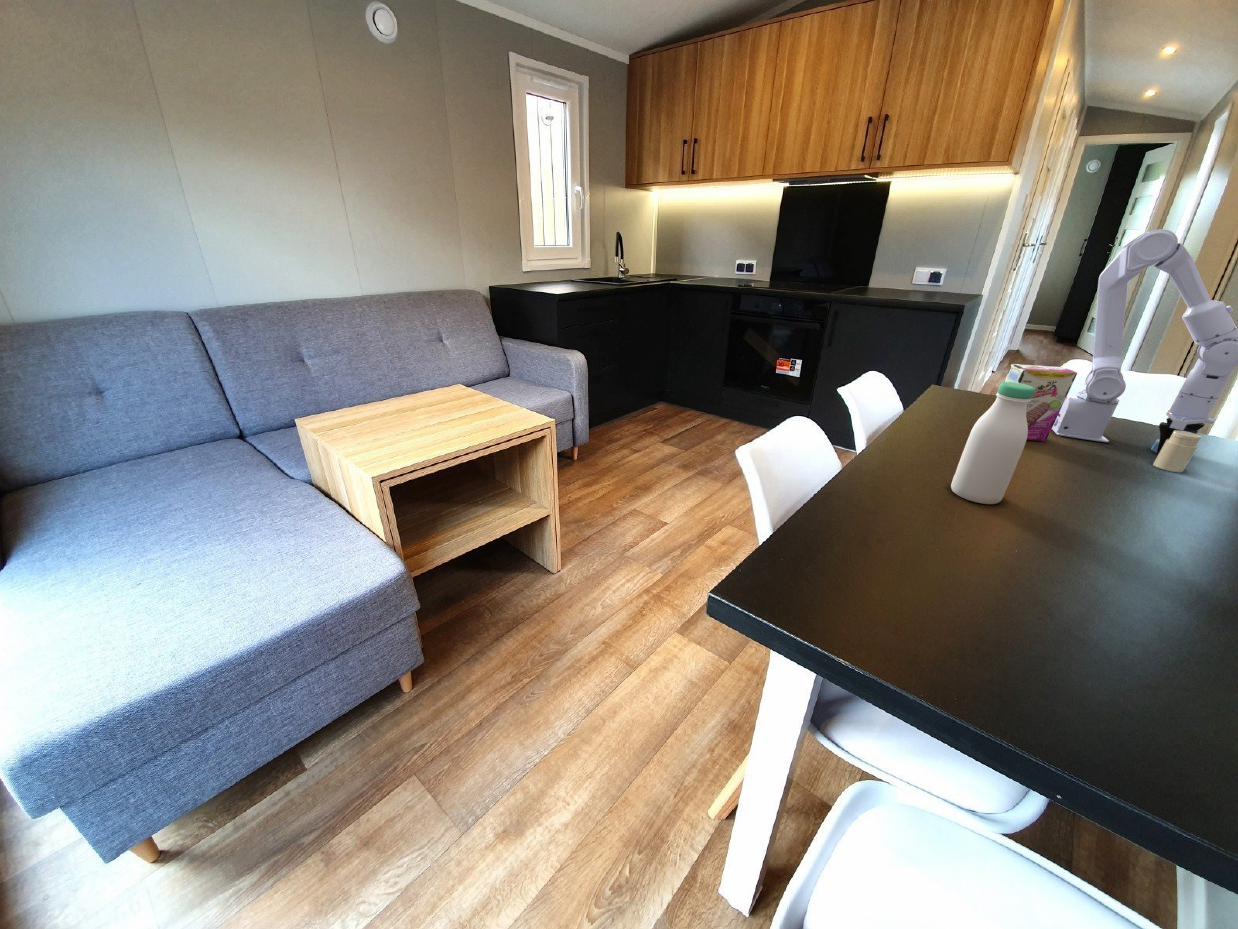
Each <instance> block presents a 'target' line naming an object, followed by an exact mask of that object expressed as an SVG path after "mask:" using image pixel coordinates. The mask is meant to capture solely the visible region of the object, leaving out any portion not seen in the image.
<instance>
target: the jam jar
mask: <svg viewBox="0 0 1238 929" xmlns="http://www.w3.org/2000/svg"><path fill="white" fill-rule="evenodd" d="M1200 440H1202V436H1201V435H1199V434H1198V433H1196V434H1194V433H1191V432H1186V431H1179V430H1175V431H1173V433H1172V435H1171V437H1170V438H1169V439H1167V440H1166V441H1165V443H1164V445H1163V447H1162V449H1161V450H1160V452H1159V454H1157V456H1156V458H1155V460H1154V461H1153V463H1152V465H1153V467H1156V468H1157V469H1160V470H1164V471H1167V472H1173V473H1183V472H1185V469H1186V468H1187V465H1188V464H1189V463H1190V461H1191V459H1192V457H1193V456H1194V454H1195V452H1196V451H1197V449H1198V443H1199V441H1200Z"/></svg>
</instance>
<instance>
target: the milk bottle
mask: <svg viewBox="0 0 1238 929" xmlns="http://www.w3.org/2000/svg"><path fill="white" fill-rule="evenodd" d="M1034 392H1035V388H1034V387H1032V386H1029V385H1026V384H1021V383H1015V382H1005V381H1003V382H1001V383H1000V384H999V386H998V388H997V393H995V396H996V399H995V401H994V402H993V403H992V405H991V406H990V407H989V408H988V409H987V410H986V411H985V412H984V413H983V414H982V415H981V416H980V417H979V418H978V419H977V421H976V422H975V423H974V425H973V427H972V429H971V430H970V433H969V435H968V438H967V440H966V443H965V445H964V448H963V450H962V453H961V456H960V459H959V461H958V464H957V467H956V469H955V471H954V475H953V477H952V481H951V484H950V488H951V491H952V492H953V493H954V494H955V495H957V496H958V497H960V498H962V499H965V500H967V501H971V502H974V503H979V504H983V505H984V504H985V505H995V504H998V503H1000V502H1002V501H1003V499H1004V496H1005V494H1006V492H1007V489H1008V488H1009V485H1010V482H1011V480H1012V477H1013V475H1014V473H1015V470H1016V468H1017V466H1018V463H1019V461H1020V458H1021V456H1022V454H1023V451H1024V448H1025V446H1026V443H1027V441H1028V440H1027V435H1028V426H1027V419H1026V408H1027V404H1028V402H1030V401H1031V398H1032V397H1033V394H1034Z"/></svg>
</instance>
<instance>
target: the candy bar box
mask: <svg viewBox="0 0 1238 929" xmlns="http://www.w3.org/2000/svg"><path fill="white" fill-rule="evenodd" d="M1077 375H1078V372H1077V371H1075V370H1072V369H1069V368H1066V367H1063V366H1052V365H1051V366H1049V365H1033V364H1021V363H1020V364H1018V363H1011V364H1010V366H1009V368H1008V372H1007V374H1006V376H1005V379H1004V382H1015V383H1021V384H1026V385H1029V386H1032V387H1034V388H1035V392H1034V394H1033V397H1032V398H1031V401H1030V402H1028V404H1027V408H1026V419H1027V426H1028V435H1027V440H1026V441H1031V442H1044V443H1045V442H1046V441H1047V440H1048V437H1049V435H1050V433H1051V431H1052V427H1053V425H1054V423H1055V420H1056V418H1057V416H1058V414H1059V412H1060V410H1061V407H1062V405H1063V403H1064V401H1065V399H1066V397H1067V396H1069V392H1070V391H1071V388H1072V386H1073V383H1074V382H1075V379H1076V378H1077Z"/></svg>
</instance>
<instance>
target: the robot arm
mask: <svg viewBox="0 0 1238 929" xmlns="http://www.w3.org/2000/svg"><path fill="white" fill-rule="evenodd" d="M1151 266H1153V267H1154V268H1156V269H1158V270H1160V271H1162V272H1164V273H1167V274H1168V275H1169V277H1170V279H1171V280H1172V282H1173V284H1174V285H1175V288H1176V289H1177V291H1178V293H1179V294H1180V296H1181V298H1182V300H1183V301H1184V303H1185V305H1186V307H1187V308H1186V310H1185V312H1184V313H1183V315H1182V316H1181V319H1182V321H1183V323H1184V324H1185V326H1186V328H1187V331H1188V333H1189V335H1190V337H1191V338H1192V341H1193V342H1194V344H1195V345H1197V346H1198V347H1197V351H1196V352H1197V355H1199V357H1200V358H1197V360H1196V362H1195V364H1194V366H1193V367H1192V369H1191V370H1190V371H1189V372H1188V375H1187V376H1186V379H1185V380H1184V382H1183V384H1182V386H1181V387H1180V389H1179V391H1178V393H1177V394H1176V397H1175V399H1174V400H1173V403H1172V404H1171V406H1170V408H1169V409H1168V410H1167V411H1166V413H1165V415H1166V416H1167V418H1166V422H1165V421H1161V422H1160V423H1159V425H1158V429H1159V439H1160V441H1159V445H1158V448H1157V453H1156V455H1158V454H1159V452H1160V450H1161V449H1162V447H1163V445H1164V443H1165V441H1166V440H1167V439H1169V438H1170V437H1171V435H1172V433H1173V431H1175V430H1179V431H1186V432H1191V433H1194V434H1198V433H1199V431H1200V430H1202V428H1204V427H1205V425H1206V423H1207V424H1214V423H1215V422H1216V418H1212V417H1209V416H1210V415H1211V414H1212V411H1213V409H1214V408H1215V406H1216V404H1217V402H1218V401H1219V399H1220V398H1221V395H1222V394H1223V393H1224V391H1225V388H1226V387H1227V385H1228V384H1229V382H1230V380H1231V378H1232V375H1233V373H1234V371H1235V370H1236V368H1237V366H1238V327H1237V325H1236V323H1235V321H1234V319H1233V318H1232V316H1231V314H1232V313H1234V312H1235V311H1234V308H1233V307H1232V305H1226V303H1225V302H1224V301H1221V300H1214V299H1211V297H1210V294H1209V293H1208V290H1207V288H1206V286H1205V283H1204V281H1203V279H1202V277H1201V275H1200V273H1199V270H1198V268H1197V265H1196V263H1195V261H1194V259H1193V257H1192V254H1190V252H1189V251H1188V250H1187V248H1186V247H1185V246H1184V245H1183V244H1182V243H1181V242H1179V240H1178V236H1177V234H1176V233H1175V232H1174V231H1173V230H1170V229H1163V228H1162V229H1161V228H1159V229H1154V230H1150V231H1146V232H1143V233H1141V234H1140V235H1138V236H1137V237H1135V238H1133V240H1131V241H1130V242H1128V243H1127V244H1125V245H1124V246H1123V247H1122V248H1121V250H1119V252H1118V253H1117V254H1116V255H1115V256H1114V258H1113V259H1112V260H1111V261H1110V263H1108V264H1107V266H1105V268H1104V269H1103V270H1102V272H1101V273H1100V274H1099V277H1098V282H1097V283H1098V284H1097V298H1096V311H1095V312H1096V313H1095V324H1094V325H1095V326H1094V338H1093V352H1092V363H1091V369H1090V372H1089V373H1088V374H1087V376H1086V377H1085V382H1084V383H1085V389H1083V390H1081V391H1079V392H1077V394H1076V395H1067V397H1066V399H1065V401H1064V403H1063V405H1062V407H1061V410H1060V412H1059V414H1058V416H1057V418H1056V420H1055V423H1054V425H1053V427H1052V429H1051V431H1053V432H1054V433H1055V434H1056V435H1057V436H1060V437H1066V438H1072V439H1080V440H1087V441H1094V442H1100V443H1106V444H1107V443H1109V442H1110V440H1109V439H1108V438H1107V437H1105V436H1104V433H1105V431H1106V430H1107V427H1108V425H1109V423H1110V421H1111V419H1112V417H1113V416H1114V413H1115V411H1116V409H1117V406H1118V405H1119V403H1120V399H1119V398H1120V397H1121V396H1122V395H1123V394H1124V392H1125V391H1126V389H1127V388H1126V387H1127V384H1126V381H1125V379H1124V376H1123V373H1122V353H1123V352H1122V351H1123V350H1122V349H1123V341H1124V328H1125V318H1126V317H1125V316H1126V304H1127V293H1128V283H1129V282H1130V281H1132V279H1134V278H1135V277H1136V276H1138V275H1139V274H1140V273H1142V272H1143V271H1144V270H1145V269H1147V268H1149V267H1151Z"/></svg>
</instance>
